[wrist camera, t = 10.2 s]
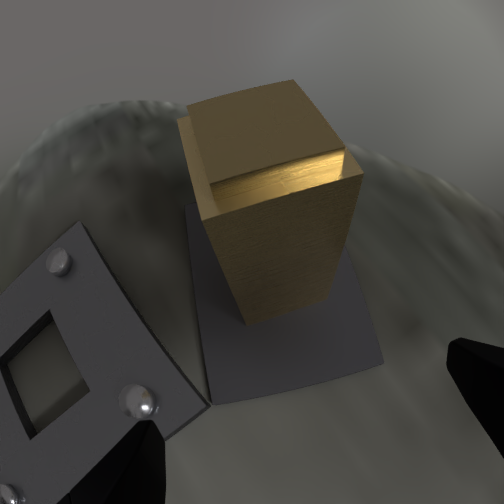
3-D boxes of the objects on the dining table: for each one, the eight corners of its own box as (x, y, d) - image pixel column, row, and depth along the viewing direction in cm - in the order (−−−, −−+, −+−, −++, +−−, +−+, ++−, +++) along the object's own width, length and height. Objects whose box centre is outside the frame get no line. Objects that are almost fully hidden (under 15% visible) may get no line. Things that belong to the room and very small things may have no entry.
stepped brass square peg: (326, 299, 19) (368, 154, 8) (246, 326, 18) (194, 203, 8) (297, 231, 21) (300, 71, 11) (225, 254, 21) (171, 103, 11)
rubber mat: (382, 364, 17) (384, 362, 16) (214, 405, 17) (212, 405, 16) (316, 179, 24) (316, 176, 23) (185, 208, 24) (184, 205, 23)
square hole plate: (211, 406, 17) (202, 405, 15) (16, 532, 11) (0, 535, 10) (86, 228, 24) (74, 214, 22) (-52, 370, 18) (-66, 364, 17)
